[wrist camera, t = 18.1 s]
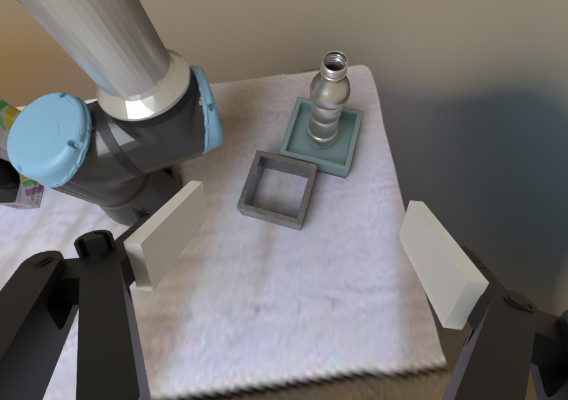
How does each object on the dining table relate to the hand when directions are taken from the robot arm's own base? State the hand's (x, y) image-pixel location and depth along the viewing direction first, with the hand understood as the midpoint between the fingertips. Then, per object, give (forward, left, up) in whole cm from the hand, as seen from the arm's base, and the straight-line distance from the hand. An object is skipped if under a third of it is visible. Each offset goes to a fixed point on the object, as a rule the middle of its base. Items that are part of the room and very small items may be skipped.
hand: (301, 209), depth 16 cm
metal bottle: (-2, +25, -32) cm, 40 cm away
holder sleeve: (-7, +11, -33) cm, 35 cm away
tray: (-2, +25, -33) cm, 41 cm away
